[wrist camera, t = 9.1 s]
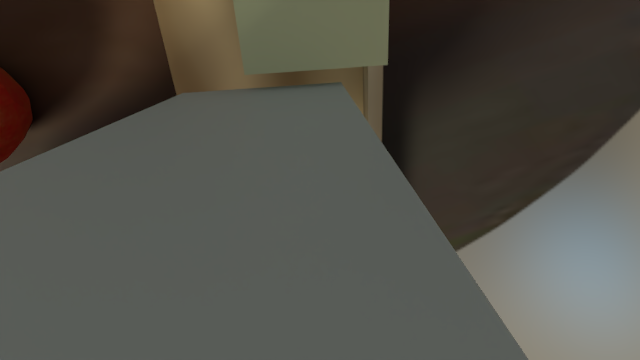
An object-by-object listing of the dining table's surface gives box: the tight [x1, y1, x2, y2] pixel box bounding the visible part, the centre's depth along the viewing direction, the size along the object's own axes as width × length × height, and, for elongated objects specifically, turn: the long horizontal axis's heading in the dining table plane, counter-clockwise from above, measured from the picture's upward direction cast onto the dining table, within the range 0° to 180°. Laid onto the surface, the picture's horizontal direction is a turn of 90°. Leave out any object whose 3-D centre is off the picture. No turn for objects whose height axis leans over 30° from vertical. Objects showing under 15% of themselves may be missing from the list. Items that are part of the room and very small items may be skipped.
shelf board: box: [153, 0, 384, 142], centre depth 20 cm, size 12×20×3 cm, turn 4°
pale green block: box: [233, 0, 389, 75], centre depth 14 cm, size 5×5×8 cm
